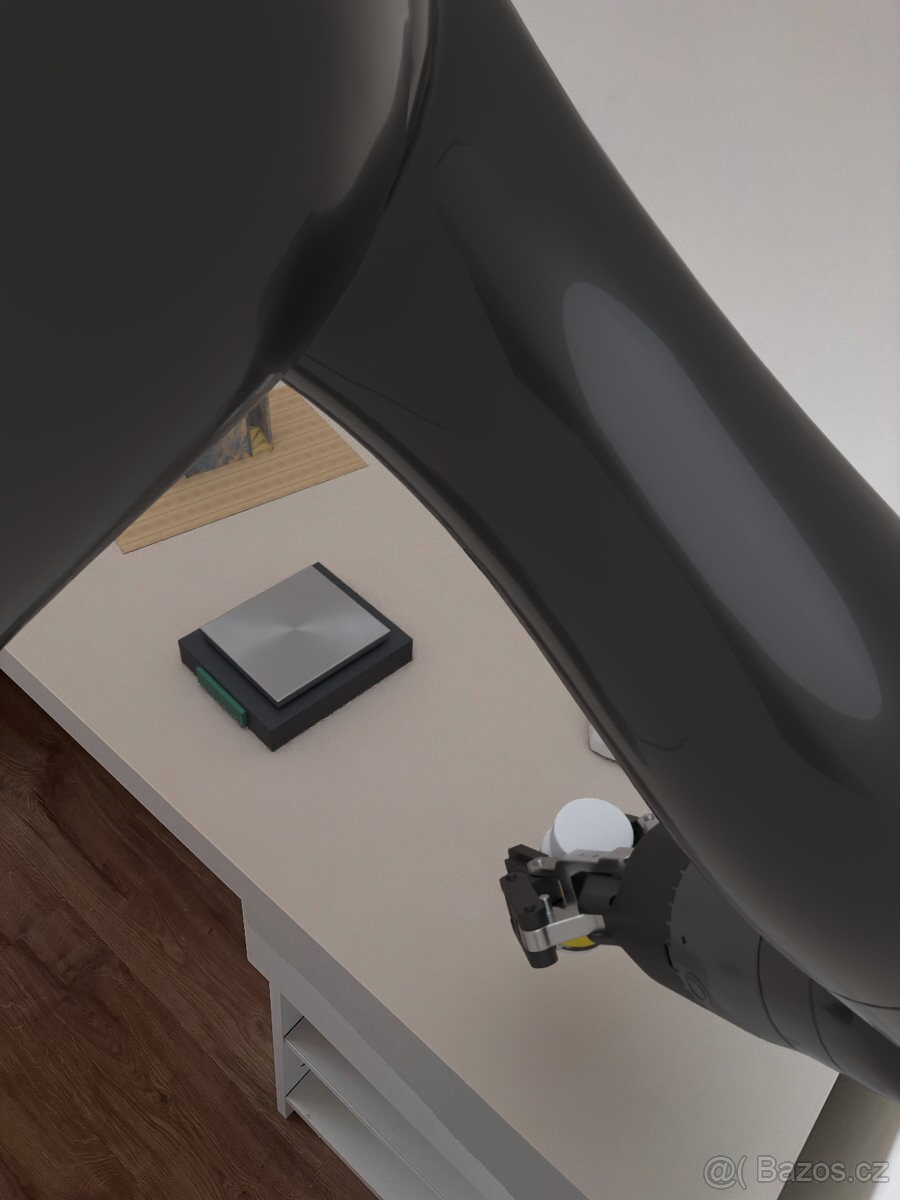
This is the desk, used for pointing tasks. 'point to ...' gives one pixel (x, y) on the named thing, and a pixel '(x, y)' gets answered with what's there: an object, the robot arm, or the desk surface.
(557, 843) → the supplement bottle
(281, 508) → the desk surface
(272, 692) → the scale pan
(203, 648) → the scale
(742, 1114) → the desk surface
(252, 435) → the ruin model on sheet
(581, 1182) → the desk surface
